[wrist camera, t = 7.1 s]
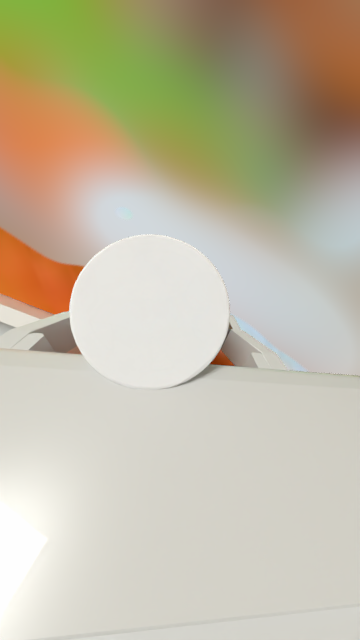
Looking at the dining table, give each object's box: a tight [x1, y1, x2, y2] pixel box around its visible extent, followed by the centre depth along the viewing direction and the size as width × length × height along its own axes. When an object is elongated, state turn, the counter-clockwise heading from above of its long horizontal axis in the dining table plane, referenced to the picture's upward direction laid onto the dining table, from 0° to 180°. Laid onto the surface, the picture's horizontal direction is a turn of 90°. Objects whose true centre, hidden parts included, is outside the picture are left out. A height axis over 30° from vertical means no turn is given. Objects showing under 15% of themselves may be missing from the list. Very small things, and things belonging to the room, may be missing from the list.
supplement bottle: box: [69, 235, 230, 390], centre depth 10 cm, size 7×7×13 cm
